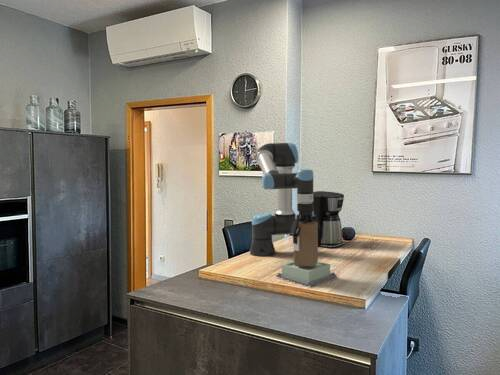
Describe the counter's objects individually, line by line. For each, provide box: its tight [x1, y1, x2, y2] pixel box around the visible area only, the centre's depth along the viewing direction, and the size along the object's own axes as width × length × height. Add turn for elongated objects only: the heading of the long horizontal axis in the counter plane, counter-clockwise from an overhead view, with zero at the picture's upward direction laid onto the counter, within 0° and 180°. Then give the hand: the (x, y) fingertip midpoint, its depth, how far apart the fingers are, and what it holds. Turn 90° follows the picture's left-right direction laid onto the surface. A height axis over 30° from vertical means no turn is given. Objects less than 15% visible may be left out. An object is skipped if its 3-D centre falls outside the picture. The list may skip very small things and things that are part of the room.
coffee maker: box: [312, 190, 345, 249], centre depth 252 cm, size 23×32×34 cm
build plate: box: [275, 260, 337, 287], centre depth 185 cm, size 20×20×6 cm
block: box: [293, 221, 319, 267], centre depth 184 cm, size 10×10×20 cm
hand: (305, 247), depth 184 cm, fingers closed on block, 13 cm apart
